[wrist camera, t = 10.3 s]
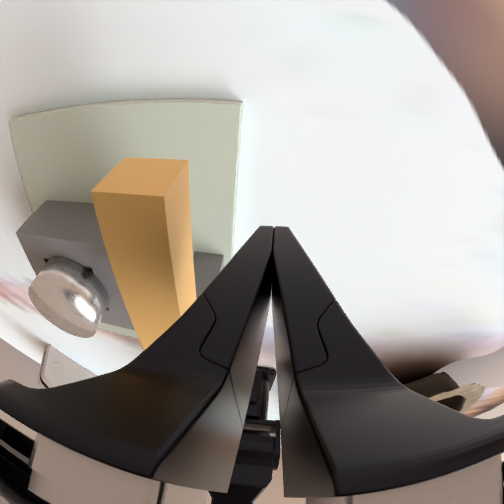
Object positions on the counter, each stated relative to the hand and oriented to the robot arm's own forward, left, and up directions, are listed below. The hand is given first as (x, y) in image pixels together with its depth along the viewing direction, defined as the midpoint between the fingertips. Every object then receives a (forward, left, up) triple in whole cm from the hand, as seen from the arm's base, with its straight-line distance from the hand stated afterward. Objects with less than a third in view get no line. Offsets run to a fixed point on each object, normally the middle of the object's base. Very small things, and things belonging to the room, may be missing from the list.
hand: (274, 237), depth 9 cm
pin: (-9, +13, -7) cm, 17 cm away
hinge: (-42, +29, -9) cm, 51 cm away
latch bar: (-4, +4, 0) cm, 5 cm away
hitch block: (-10, +11, -8) cm, 17 cm away
